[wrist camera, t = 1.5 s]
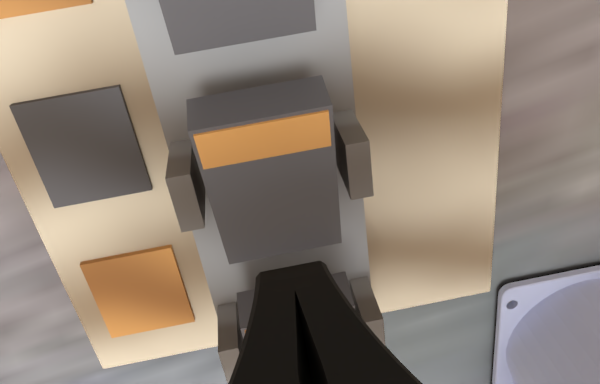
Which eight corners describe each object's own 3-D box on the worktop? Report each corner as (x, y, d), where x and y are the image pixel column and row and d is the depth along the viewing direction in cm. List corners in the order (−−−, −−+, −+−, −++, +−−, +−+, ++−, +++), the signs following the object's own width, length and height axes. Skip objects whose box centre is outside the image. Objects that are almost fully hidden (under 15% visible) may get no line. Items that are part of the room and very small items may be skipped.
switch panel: (475, 268, 24) (545, 377, 19) (109, 341, 24) (81, 474, 18) (498, -300, 14) (657, -386, 9) (-136, -205, 14) (-343, -242, 8)
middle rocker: (333, 211, 17) (342, 244, 16) (226, 232, 16) (229, 266, 15) (321, 74, 13) (333, 107, 12) (186, 99, 13) (187, 133, 12)
